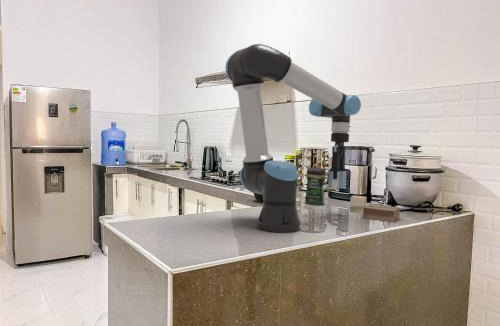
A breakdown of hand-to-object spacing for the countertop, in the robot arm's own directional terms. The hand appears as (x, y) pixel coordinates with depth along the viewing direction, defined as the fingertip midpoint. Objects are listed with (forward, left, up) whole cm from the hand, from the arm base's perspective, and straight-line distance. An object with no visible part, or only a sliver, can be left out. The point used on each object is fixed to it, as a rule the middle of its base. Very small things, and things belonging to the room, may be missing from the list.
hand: (337, 186), depth 168 cm
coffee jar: (+25, +18, -13) cm, 33 cm away
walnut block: (+4, -18, -13) cm, 23 cm away
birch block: (+15, -6, -13) cm, 21 cm away
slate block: (0, 0, 0) cm, 0 cm away
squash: (+15, +40, -13) cm, 45 cm away
